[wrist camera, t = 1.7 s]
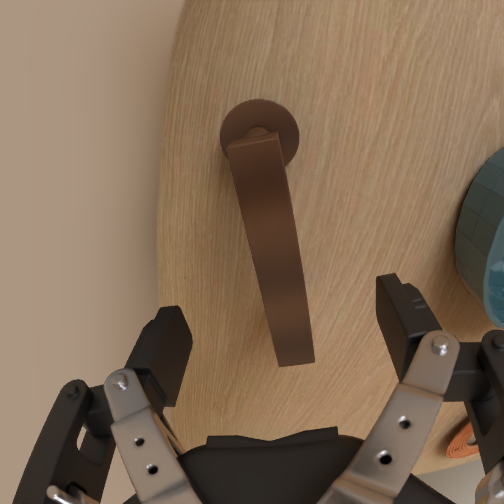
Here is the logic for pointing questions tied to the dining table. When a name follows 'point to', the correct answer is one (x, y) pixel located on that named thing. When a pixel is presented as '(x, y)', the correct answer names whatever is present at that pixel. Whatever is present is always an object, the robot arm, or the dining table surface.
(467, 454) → the ring
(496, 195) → the mixing bowl
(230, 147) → the brown wooden bracket
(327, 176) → the dining table surface
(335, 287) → the dining table surface
